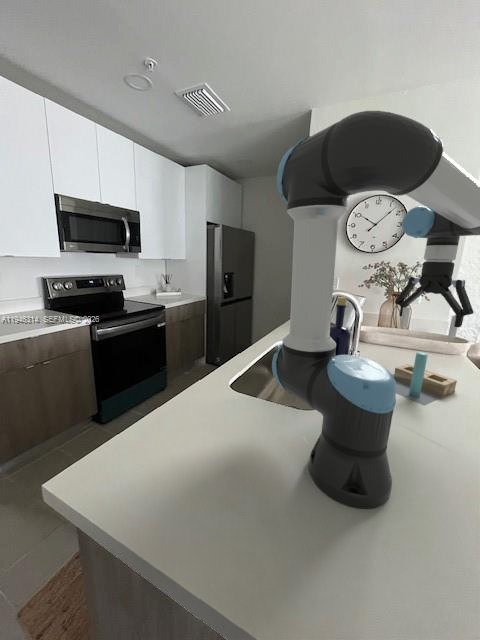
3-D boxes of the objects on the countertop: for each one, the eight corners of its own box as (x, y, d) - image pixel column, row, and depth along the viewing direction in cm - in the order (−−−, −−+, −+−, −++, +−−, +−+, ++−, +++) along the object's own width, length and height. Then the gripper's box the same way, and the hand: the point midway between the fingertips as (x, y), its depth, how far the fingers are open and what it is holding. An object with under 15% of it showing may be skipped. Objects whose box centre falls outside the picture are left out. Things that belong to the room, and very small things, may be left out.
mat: (424, 406, 81) (424, 405, 81) (369, 382, 97) (370, 381, 96) (455, 392, 91) (455, 391, 91) (402, 372, 106) (402, 371, 106)
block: (442, 397, 87) (445, 385, 86) (393, 377, 100) (395, 367, 99) (454, 391, 91) (456, 380, 90) (405, 373, 104) (407, 364, 103)
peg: (416, 398, 85) (424, 356, 82) (406, 394, 88) (414, 353, 85) (421, 396, 87) (429, 354, 84) (412, 392, 89) (419, 351, 86)
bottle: (342, 376, 101) (352, 296, 94) (350, 387, 92) (361, 300, 86) (317, 374, 102) (325, 295, 95) (322, 385, 93) (331, 299, 86)
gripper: (500, 262, 70) (481, 341, 75) (402, 260, 91) (393, 322, 96) (488, 262, 66) (469, 344, 71) (389, 260, 87) (380, 324, 92)
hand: (425, 332), depth 83 cm, fingers open, 13 cm apart
